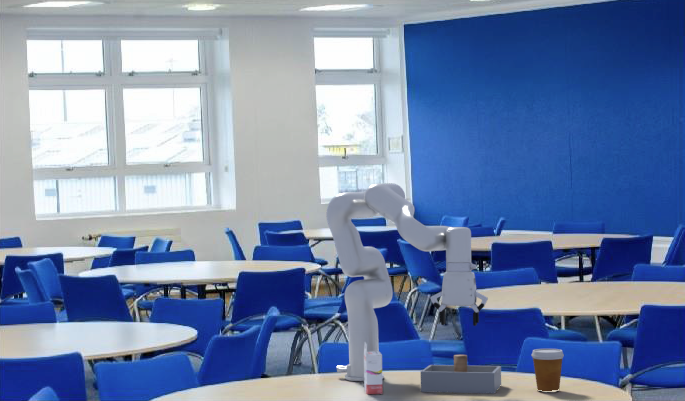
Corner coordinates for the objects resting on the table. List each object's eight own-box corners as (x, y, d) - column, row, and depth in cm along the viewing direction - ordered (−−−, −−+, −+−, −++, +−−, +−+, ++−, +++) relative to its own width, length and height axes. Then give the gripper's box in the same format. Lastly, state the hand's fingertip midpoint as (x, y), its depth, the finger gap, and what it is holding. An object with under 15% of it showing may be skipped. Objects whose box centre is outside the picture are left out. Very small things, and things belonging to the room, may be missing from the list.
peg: (455, 387, 370) (455, 354, 370) (468, 387, 369) (468, 354, 368) (453, 389, 366) (452, 356, 366) (466, 390, 365) (465, 356, 365)
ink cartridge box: (383, 394, 361) (382, 344, 361) (366, 394, 361) (365, 345, 361) (380, 389, 370) (379, 340, 369) (364, 390, 369) (362, 341, 369)
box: (420, 391, 363) (420, 371, 363) (430, 384, 377) (429, 364, 377) (494, 393, 357) (494, 372, 357) (501, 385, 371) (500, 366, 371)
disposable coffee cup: (545, 395, 353) (544, 353, 353) (525, 390, 361) (524, 350, 361) (571, 391, 357) (570, 350, 357) (551, 387, 366) (550, 347, 366)
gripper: (489, 267, 368) (489, 324, 369) (432, 266, 373) (433, 322, 373) (485, 269, 361) (485, 327, 361) (428, 268, 366) (428, 325, 366)
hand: (459, 324), depth 367 cm, fingers open, 9 cm apart
